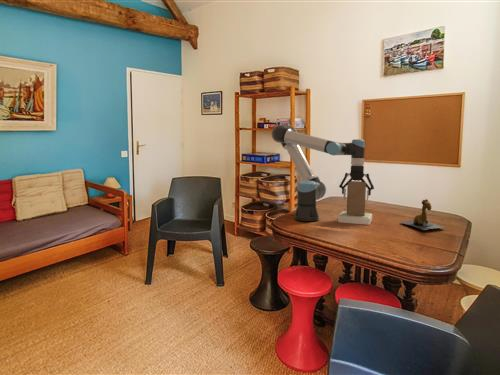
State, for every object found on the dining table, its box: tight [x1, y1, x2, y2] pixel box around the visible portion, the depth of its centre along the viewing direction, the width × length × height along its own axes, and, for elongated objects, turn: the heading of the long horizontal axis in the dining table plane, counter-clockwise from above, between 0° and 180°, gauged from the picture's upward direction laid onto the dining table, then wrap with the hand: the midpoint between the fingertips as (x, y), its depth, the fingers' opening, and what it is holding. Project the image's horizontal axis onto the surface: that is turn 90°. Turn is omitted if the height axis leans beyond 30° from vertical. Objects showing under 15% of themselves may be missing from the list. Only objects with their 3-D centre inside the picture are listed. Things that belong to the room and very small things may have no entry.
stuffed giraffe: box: [400, 198, 446, 231], centre depth 195 cm, size 16×18×16 cm
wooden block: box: [346, 180, 367, 216], centre depth 207 cm, size 10×10×20 cm
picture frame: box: [337, 210, 373, 226], centre depth 208 cm, size 18×18×4 cm
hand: (355, 200), depth 207 cm, fingers open, 13 cm apart
